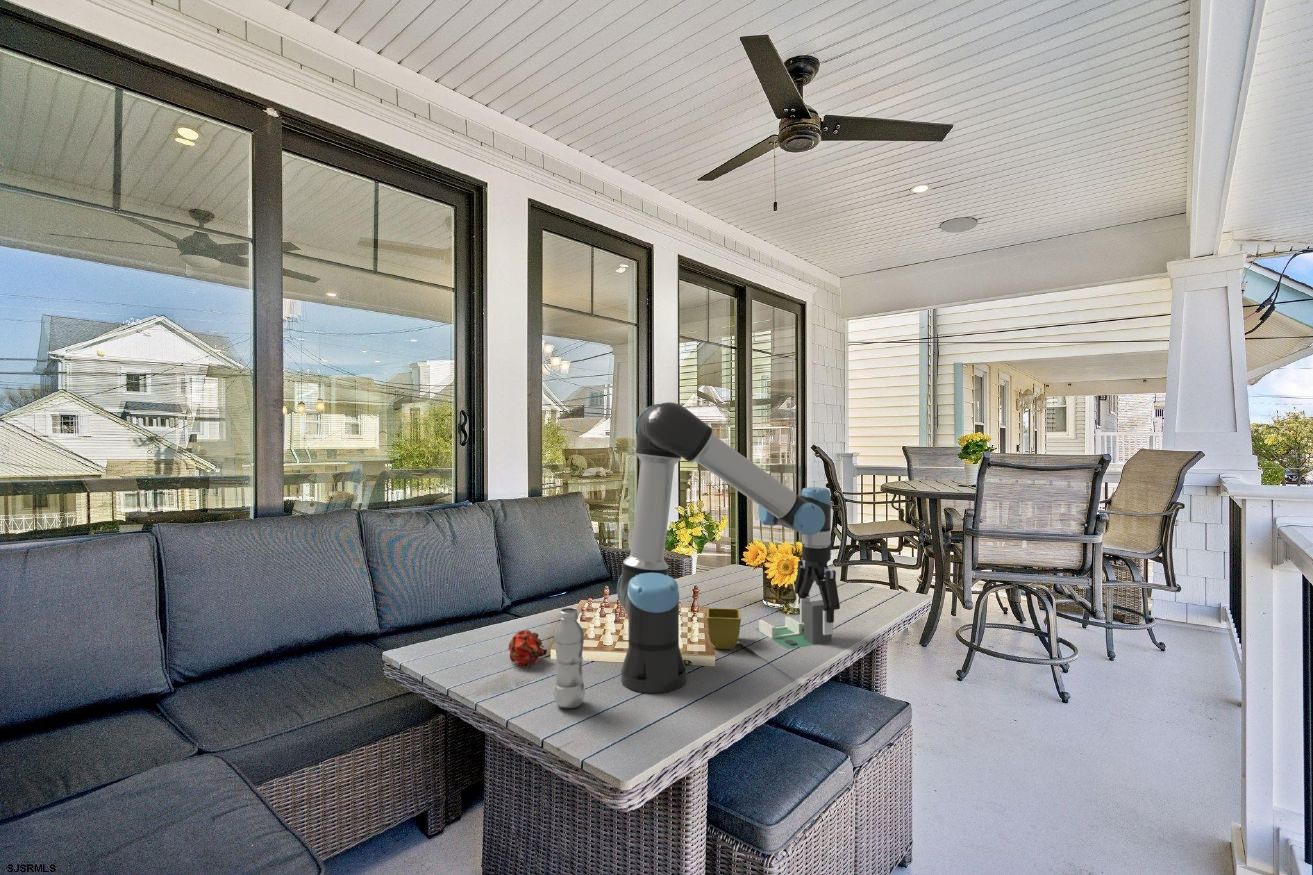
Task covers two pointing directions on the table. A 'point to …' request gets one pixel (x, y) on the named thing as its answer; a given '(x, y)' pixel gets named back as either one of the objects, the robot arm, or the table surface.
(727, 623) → the flower pot
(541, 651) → the dragon fruit
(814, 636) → the plug
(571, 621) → the plastic bottle
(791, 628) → the board
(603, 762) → the table surface
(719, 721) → the table surface
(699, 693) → the table surface
